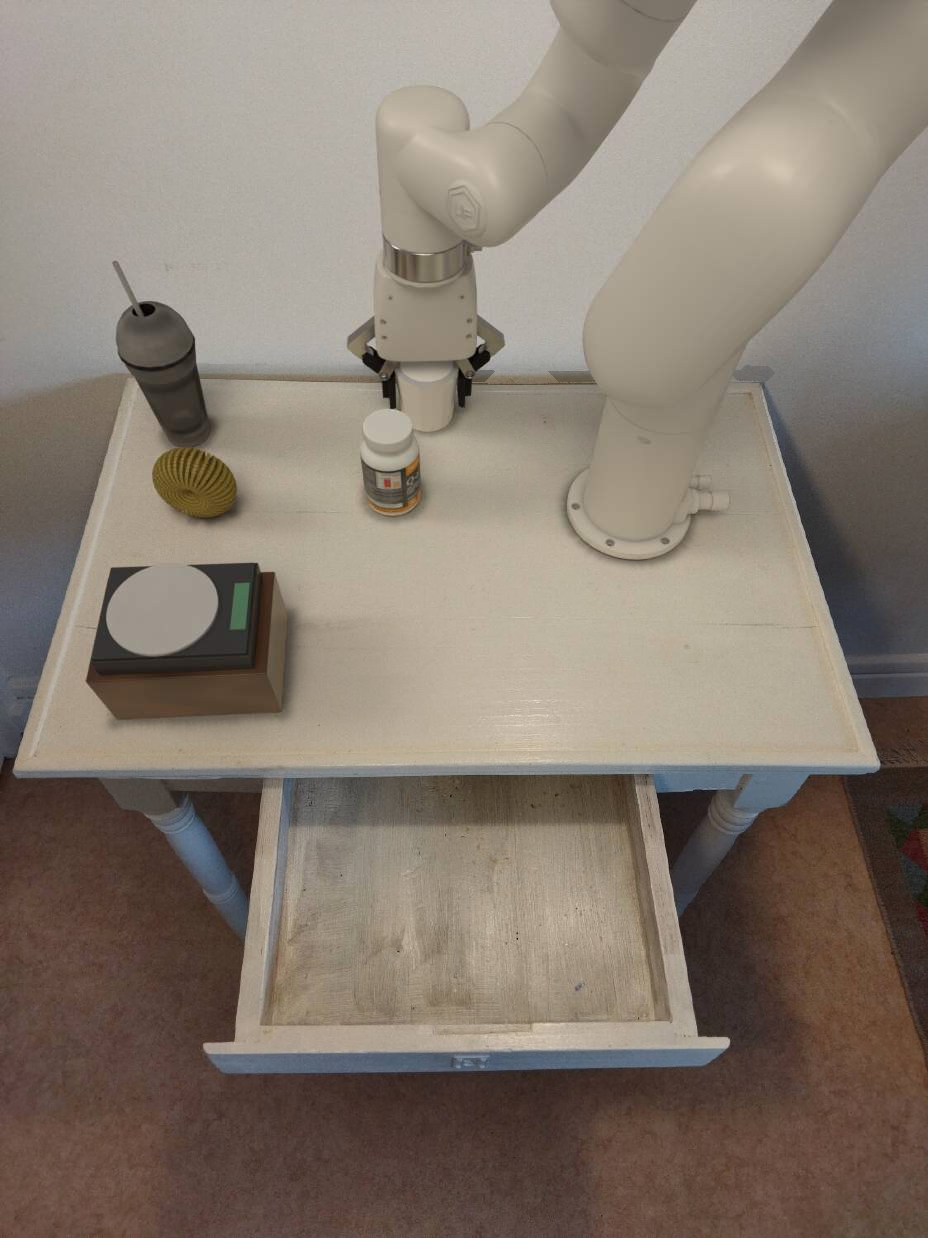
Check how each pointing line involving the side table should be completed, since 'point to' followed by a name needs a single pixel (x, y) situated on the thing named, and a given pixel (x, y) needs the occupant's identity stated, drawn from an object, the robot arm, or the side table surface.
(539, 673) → the side table surface
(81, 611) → the side table surface
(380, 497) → the pill bottle
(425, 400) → the white cup
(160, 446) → the side table surface
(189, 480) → the sculpture
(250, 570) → the kitchen scale
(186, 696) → the walnut riser
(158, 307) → the beverage cup
